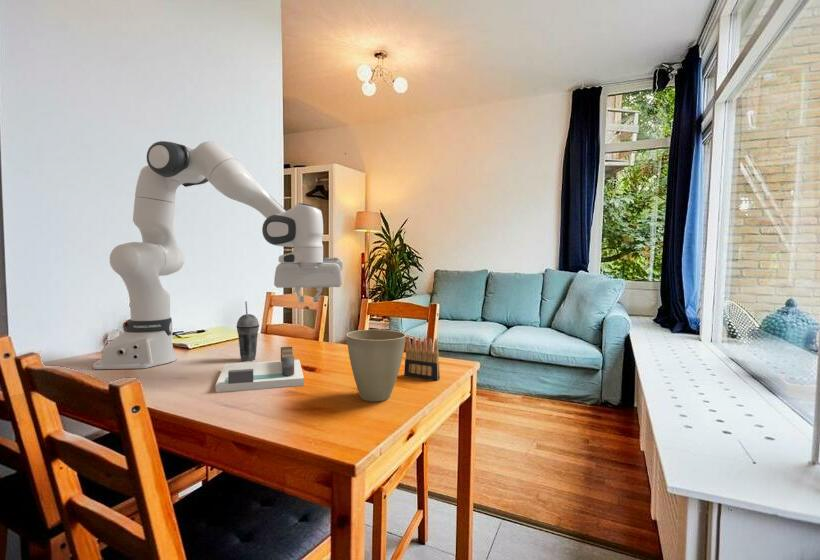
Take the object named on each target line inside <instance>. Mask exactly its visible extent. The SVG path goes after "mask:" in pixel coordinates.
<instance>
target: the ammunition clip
mask: <svg viewBox="0 0 820 560" xmlns="http://www.w3.org/2000/svg"><path fill="white" fill-rule="evenodd" d="M411 340H412V341H411ZM432 340H433V339H432V338H430V337H429V341H428V342H427V338H426V337H424V339H423V340H422V338H421V336H419V337H418V340H416V337H415V336H413V337H412V339H411V337H410V335H408V336H407V337H406V347H405V359H404V370H403V371H404V373H403V375H404V377H407V378H415V379H420V380H428V381H434V382H437V381H439V380H440V376H441V375H440V361H439V358H440V357H439V343H438V342H439V341H438V339H437V338H434V341H432ZM433 342H434V343H433Z"/></svg>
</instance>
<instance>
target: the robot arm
mask: <svg viewBox="0 0 820 560" xmlns="http://www.w3.org/2000/svg"><path fill="white" fill-rule="evenodd" d="M146 162H147V165H145V166H144V167H142V168H141V170H140V173H139V175H138V179H137V182H136V186H135V187H136V188H135V194H134V204H133V213H132V215H133V217H132V221H133V223H134V225H135V226H136V227H137V228H138V229H139V232H140V235H141V239H142V242H140V241H132V242H131V241H130V242H126V243H122V244H118V245H116V246H115V247H113V249H112V250H111V252H110V254H109V264H110V267H111V269H112V270H113V271H114V272H115V273H116V274H117V275H119V276H120V278H121V279H122V281H123V283H124V285H125V286H126V290H127V292H128V297H129V310H130V318H129V319H127V320H126V321H125V322H123V323H122V327H121V328H123V332H121V333H120V334H119V335H118V336H116V337H114V338H113V339H112V340H111V341H109V342H108V343H107V344H106V345H105V346H104V348H103V351H102V354H101V359H98V360H96V362H94V363H93V365H92V368H93V370H120V369H121V370H123V369H124V370H125V369H128V370H129V369H133V370H134V369H135V370H136V369H147V368H151V367H155V366H161V365H164V364H168V363H172V362H174V361H176V360H177V355H176V354H175V349H174V346H173V340H172V333H173V319H172V317H171V295H170V294H169V292H168V291H167V290H165V288H164V287H163V285H162V283H161V280H160V277H164V276H169V275H173V274H175V273H177V272H179V271H180V270H181V269H182V268H183V266H184V263H185V257H184V253H183V252H182V250H181V249H180V248H179V247H178V244H177V241H176V236H175V231H174V217H175V216H174V215H175V203H176V193H177V189H178V188H179V187H180V186H183V187H185V188H187V187H191V186H197V185H198V186H199V185H202V184H203V185H204V184H206V183H207V182H209V183H210V184H211V186H213V187H214V189H216V190H217V191H218V192H219V193H220V194H223V195H224V196H225V197H227V198H228V199H231V200H233V201H236V202H239V203H242V204H244V205H247V206H248V207H251V208H253V209H255V210H257V211H258V212H259V213H260V214H261V215H262V216H263V217H264V218H265V220H264V221H263V223H262V229H261V233H262V236H263V238H264V240H265V241H266V242H267V243H269V244H271V245H273V246H277V247H285V248H286V247H287V248H291V249H293V251H292V252H287V253H285V254H281V255H279V257H278V263H279V264H278V265H276V267H275V272H274V279H273V280H274V282H273V285H274V286H275V288H277V289H278V288H280V289H281V288H282V289H284V288H285V289H286V288H290V289H292V288H294V291H295V293H296V295H297V297H298V303H305V300H304V299H305V297H304V295H301V293H299V292H300V291H301V288H316V290H317V293H316V295H313V296H312V297H313V298H312V301H313V303H319V298H320V295H321V294H322V292H323V288H340V287H341V286H342V284H343V280H342V279H343V278H342V270H343V261H342V260H341V259H340V258H338V257H324V244H323V237H324V218H323V212H322V210H321V209H320V208H319V207H317V205H316V206H315V205H311V204H308V203H303V202H302V203H301V202H299V203H296V204H295V205H294V206H293V207H291V208H289V209H288V210H286V209H285V208H284V207H283V206H282V205H281V204H280V203H278V202H277V200H275V199H274V198H273V197H272V196H271V195H270V194H269V193H268V192H267V191H266V190H265V189H264V188H263V187H262V185H261V184H260V183H259V182H258V181H257V180H256V179H255V178H254V177H253V176H252V174H251V173H250V172H249V171H248V170H247V168H246V167H245V166H244V165H243V164H242V163H241V162H240V161H239V160H238V159H237V158H236V157H235V156H234V155H233V154H232V153H231V152H230V151H228V150H227V149H226V148H224V147H223V146H222V145H220V144H218V143H217V142H214V141H210V140H209V141H204V142H201V143H200V144H198V145H197V146H196V147H195V148H193V149H192V148H190V147H188V146H186V145H184V144H180V143H176V142H172V141H166V140H165V141H161V140H159V141H156V142H154V143H152V144H151V145H150V147H149V148H148V150H147V153H146Z"/></svg>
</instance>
